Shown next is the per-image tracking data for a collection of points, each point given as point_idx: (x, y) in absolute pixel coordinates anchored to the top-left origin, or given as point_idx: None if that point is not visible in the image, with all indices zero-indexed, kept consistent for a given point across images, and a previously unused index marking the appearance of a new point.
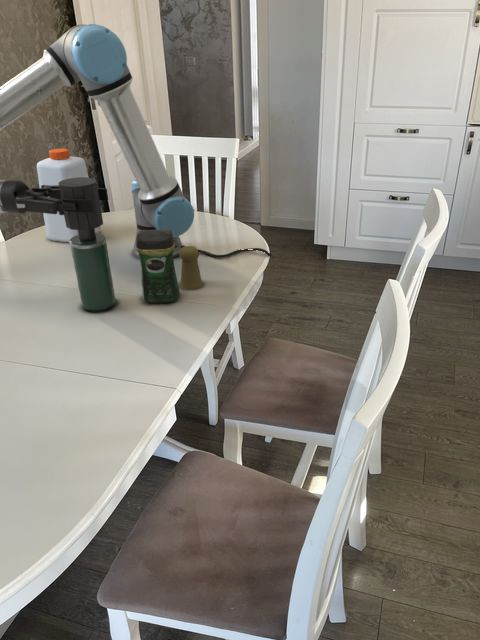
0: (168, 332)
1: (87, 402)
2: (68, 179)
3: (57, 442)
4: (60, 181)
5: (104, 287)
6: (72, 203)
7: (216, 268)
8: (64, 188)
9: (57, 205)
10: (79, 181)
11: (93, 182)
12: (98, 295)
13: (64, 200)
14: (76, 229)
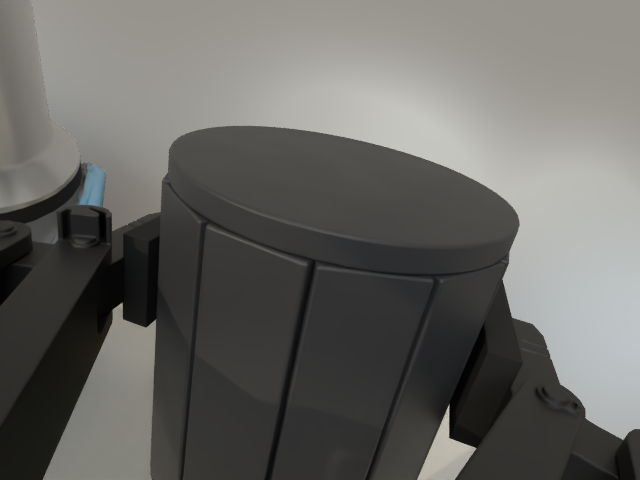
0: (442, 472)
1: None
2: (228, 176)
3: None
4: (307, 220)
5: None
6: (531, 334)
7: (119, 319)
8: (506, 255)
9: (606, 442)
10: (335, 163)
11: (377, 146)
12: None
13: (517, 362)
14: None
